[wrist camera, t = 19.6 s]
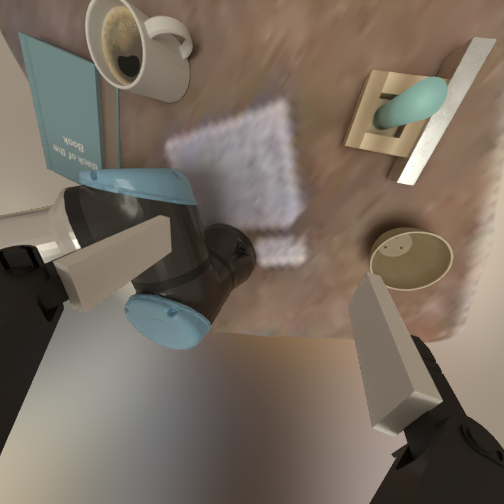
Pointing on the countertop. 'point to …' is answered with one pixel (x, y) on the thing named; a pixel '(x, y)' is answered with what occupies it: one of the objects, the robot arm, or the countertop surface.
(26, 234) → the robot arm
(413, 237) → the flower pot
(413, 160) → the backstop rail
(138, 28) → the mug
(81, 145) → the book
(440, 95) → the dowel
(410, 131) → the block
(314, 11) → the countertop surface
